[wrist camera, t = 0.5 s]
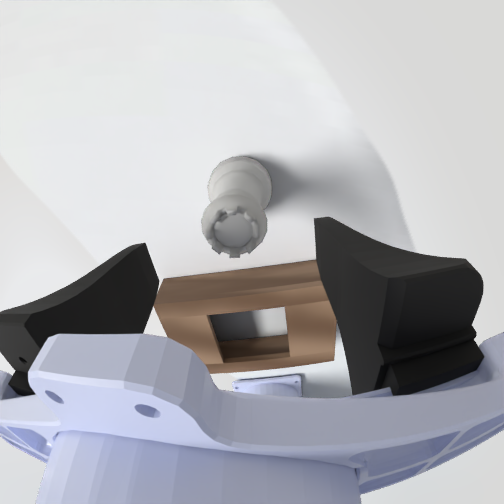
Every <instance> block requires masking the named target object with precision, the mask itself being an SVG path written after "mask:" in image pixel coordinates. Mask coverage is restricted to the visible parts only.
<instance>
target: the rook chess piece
mask: <svg viewBox="0 0 504 504" xmlns="http://www.w3.org/2000/svg"><path fill="white" fill-rule="evenodd" d="M208 183H209V184H208V197H209V200H210V202H211V203H210V205H209V206H208V207H207V208H206V209H205V211H204V214H203V217H202V220H201V223H202V232H203V234H204V236H205V238H206V239H207V241H208V243H209V244H210V245H212V249H213V250H215V251H216V252H217V253H218V254H220V253H221V252H224V253H227V254H230V257H229V258H240V254H244V253H246V252H248V253H251V252H252V251H253V250H254V249H255V248H256V247H257V246H258V245H259V244H260V243H261V242H262V241H263V239H264V237H265V235H266V232H267V218H266V215H265V213H264V211H263V210H264V209H265V208H266V207H267V205H268V203H269V200H270V198H271V193H272V180H271V178H270V176H269V174H268V171H267V169H266V168H265V167H263V166H262V165H261V164H260V163H259V162H258V161H256V160H254V159H251V158H248V157H245V156H243V157H231V158H229V159H227V160H224V161H222V162H220V163H219V165H218V166H217V167H216V168H215V169H214V170H213V171H212V174H211V177H210V180H209V182H208Z"/></svg>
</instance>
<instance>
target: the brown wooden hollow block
mask: <svg viewBox="0 0 504 504" xmlns="http://www.w3.org/2000/svg"><path fill="white" fill-rule="evenodd" d="M153 306H154V308H155V311H156V313H157V315H158V317H159V319H160V322H161V324H162V326H163V328H164V330H165V332H166V334H167V337H168V338H170V339H172V340H174V341H176V342H178V343H180V344H182V345H184V346H186V347H188V348H190V349H191V350H193V351H194V353H195V354H196V355H197V356H198V357H199V358H200V360H201V361H202V362H203V363H204V364H205V365H206V366H207V369H208V371H209V373H210V374H215V373H233V372H247V371H258V370H269V369H278V368H287V367H295V366H302V365H309V364H316V363H322V362H329V361H334V355H335V340H336V321H337V320H336V317H335V315H334V312H333V310H332V307H331V304H330V302H329V299H328V297H327V294H326V292H325V289H324V287H323V284H322V282H321V278H320V274H319V270H318V266H317V262H316V260H311V261H303V262H296V263H288V264H281V265H273V266H265V267H258V268H250V269H242V270H234V271H226V272H218V273H210V274H201V275H193V276H184V277H176V278H167V279H163V282H162V284H161V286H160V289H159V291H158V293H157V296H156V300H155V303H154V305H153ZM278 307H285V313H286V322H287V331H288V335H280V336H271V337H262V338H253V339H243V340H231V341H219V342H218V340H217V338H216V335H215V332H214V329H213V326H212V323H211V320H210V317H209V315H213V314H224V313H234V312H243V311H252V310H261V309H269V308H278Z"/></svg>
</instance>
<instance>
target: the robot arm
mask: <svg viewBox="0 0 504 504" xmlns="http://www.w3.org/2000/svg"><path fill="white" fill-rule="evenodd" d="M314 225H315V242H316V262H317V266H318V270H319V274H320V278H321V282H322V284H323V287H324V289H325V292H326V294H327V297H328V299H329V302H330V304H331V307H332V310H333V312H334V315H335V317H336V320H337V323H338V326H339V329H340V333H341V338H342V342H343V346H344V351H345V355H346V360H347V365H348V370H349V376H350V381H351V387H352V394H353V396H348V397H342V398H306V397H302V389H301V377H300V376H299V375H293V376H284V377H275V378H266V379H254V380H241V381H234V382H232V386H233V389H234V392H233V391H226V390H219V389H218V388H217V386H216V385H215V384H214V382H213V380H212V378H211V375H210V373H209V371H208V369H207V366H206V365H205V364H204V363H203V362H202V361H201V360H200V358H199V357H198V356H197V355H196V354H195V353H194V351H193V350H191V349H190V348H188V347H186V346H184V345H182V344H180V343H178V342H176V341H174V340H172V339H170V338H168V337H162V336H155V335H149V334H143V332H144V329H145V327H146V324H147V321H148V319H149V316H150V313H151V311H152V308H153V305H154V303H155V300H156V295H157V291H158V286H159V279H158V276H157V274H156V271H155V268H154V266H153V263H152V260H151V257H150V255H149V252H148V249H147V246H146V243H141V244H135V245H132V246H129V247H127V248H126V249H124V250H122V251H121V252H119V253H117V254H116V255H114V256H113V257H111V258H110V259H109V260H107V261H106V262H104V263H103V264H101V265H100V266H98V267H97V268H95V269H94V270H92V271H91V272H89V273H88V274H87V275H85V276H83V277H82V278H80V279H78V280H77V281H75V282H73V283H72V284H70V285H68V286H66V287H64V288H62V289H60V290H58V291H56V292H54V293H52V294H50V295H48V296H46V297H43V298H41V299H38V300H36V301H33V302H30V303H28V304H25V305H22V306H18V307H15V308H11V309H8V310H4V311H2V312H0V352H1V353H2V355H3V356H4V357H5V358H6V360H7V361H8V362H9V364H10V365H11V366H12V367H13V368H14V369H15V370H16V371H15V373H14V374H13V376H12V375H10V374H9V373H7V372H4V371H1V370H0V437H2V438H3V439H4V440H5V441H7V442H8V443H9V444H10V445H12V446H14V447H16V448H18V449H20V450H21V451H23V452H25V453H27V454H29V455H31V456H33V457H35V458H37V459H39V460H41V461H43V462H45V463H47V465H46V468H45V471H44V475H43V478H42V481H41V485H40V488H39V492H38V495H37V499H36V503H35V504H361V498H360V495H361V494H365V493H368V492H371V491H375V490H378V489H381V488H384V487H387V486H390V485H393V484H395V483H398V482H401V481H403V480H406V479H408V478H411V477H414V476H416V475H418V474H421V473H423V472H425V471H428V470H430V469H432V468H434V467H437V466H439V465H441V464H443V463H445V462H447V461H449V460H450V459H453V458H455V457H457V456H459V455H461V454H462V453H464V452H466V451H468V450H470V449H472V448H473V447H475V446H477V445H479V444H480V443H482V442H484V441H486V440H488V439H489V438H491V437H493V436H494V435H496V434H498V433H499V432H501V431H502V430H504V332H503V333H501V334H498V335H496V336H494V337H491V338H489V339H487V340H485V341H483V343H482V344H480V345H479V347H478V345H477V344H476V342H475V341H474V338H475V337H476V331H475V329H474V328H473V326H472V323H473V320H474V318H475V315H476V313H477V310H478V307H479V305H480V302H481V298H482V295H483V280H482V277H481V275H480V274H479V273H478V271H477V270H476V269H475V268H474V267H473V266H472V265H471V264H470V263H469V262H468V261H467V260H466V259H462V258H447V257H437V256H430V255H423V254H419V253H414V252H410V251H406V250H402V249H399V248H395V247H392V246H389V245H387V244H384V243H381V242H378V241H376V240H374V239H372V238H369V237H367V236H365V235H363V234H361V233H359V232H357V231H355V230H353V229H351V228H349V227H348V226H346V225H344V224H342V223H340V222H339V221H337V220H335V219H333V218H331V217H323V218H314Z"/></svg>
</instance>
